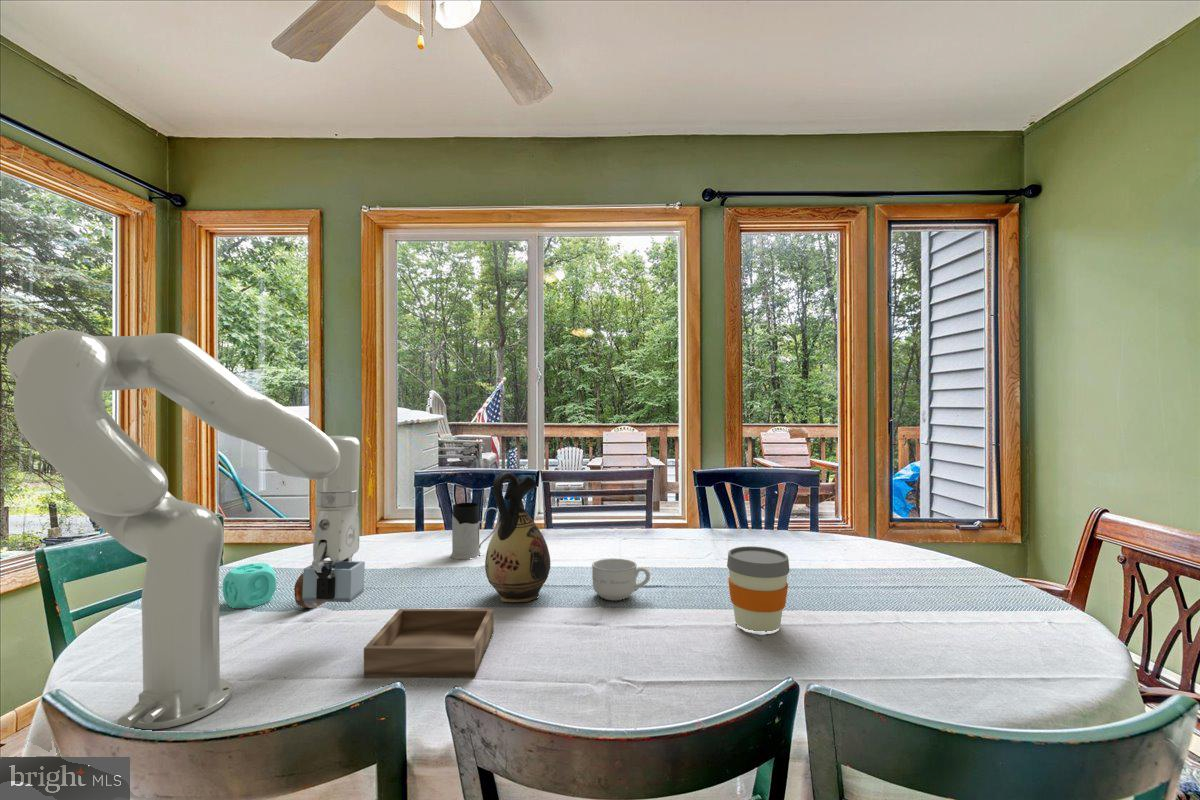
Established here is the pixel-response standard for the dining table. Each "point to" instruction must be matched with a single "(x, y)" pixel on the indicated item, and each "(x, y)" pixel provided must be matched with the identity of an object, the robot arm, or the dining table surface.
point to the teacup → (616, 578)
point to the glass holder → (467, 530)
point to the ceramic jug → (516, 545)
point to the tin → (299, 594)
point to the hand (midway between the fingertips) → (334, 591)
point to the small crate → (337, 582)
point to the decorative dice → (249, 585)
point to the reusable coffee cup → (758, 586)
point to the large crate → (430, 643)
